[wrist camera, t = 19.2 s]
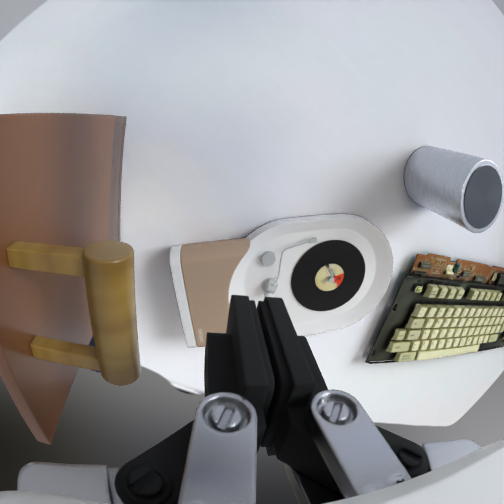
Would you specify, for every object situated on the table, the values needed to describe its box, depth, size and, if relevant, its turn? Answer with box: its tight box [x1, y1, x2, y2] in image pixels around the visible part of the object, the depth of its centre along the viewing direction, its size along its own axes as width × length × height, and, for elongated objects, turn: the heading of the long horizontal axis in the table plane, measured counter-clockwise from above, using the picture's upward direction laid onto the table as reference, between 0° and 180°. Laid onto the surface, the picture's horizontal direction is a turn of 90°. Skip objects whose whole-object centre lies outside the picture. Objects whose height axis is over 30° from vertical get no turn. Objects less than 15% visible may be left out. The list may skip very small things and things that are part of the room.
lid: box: [0, 113, 141, 444], centre depth 14 cm, size 14×13×5 cm
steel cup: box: [404, 146, 504, 233], centre depth 22 cm, size 6×6×8 cm
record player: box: [170, 214, 393, 348], centre depth 27 cm, size 12×3×20 cm
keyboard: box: [365, 254, 504, 364], centre depth 34 cm, size 45×15×2 cm, turn 79°
